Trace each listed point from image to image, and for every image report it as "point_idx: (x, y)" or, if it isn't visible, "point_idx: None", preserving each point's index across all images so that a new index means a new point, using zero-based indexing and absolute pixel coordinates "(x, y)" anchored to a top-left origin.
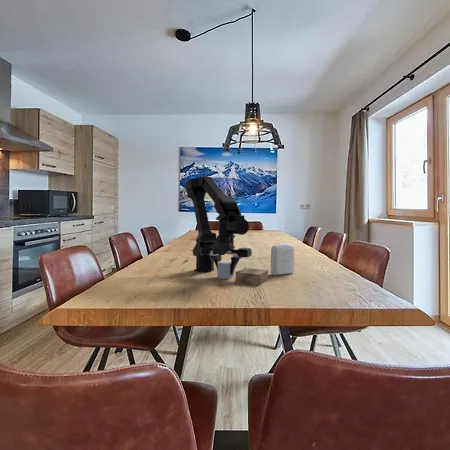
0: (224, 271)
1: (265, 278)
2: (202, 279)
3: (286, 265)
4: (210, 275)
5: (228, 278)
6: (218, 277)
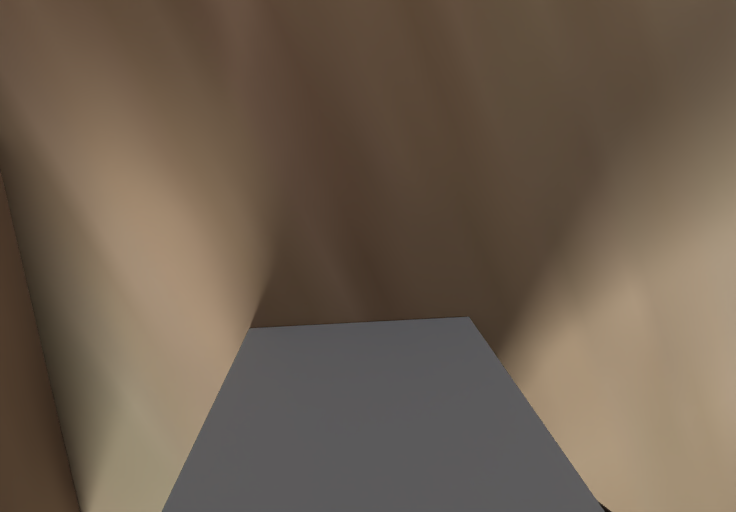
0: (339, 407)
1: None
2: (695, 89)
3: None
4: (639, 430)
5: (258, 331)
6: (454, 322)
